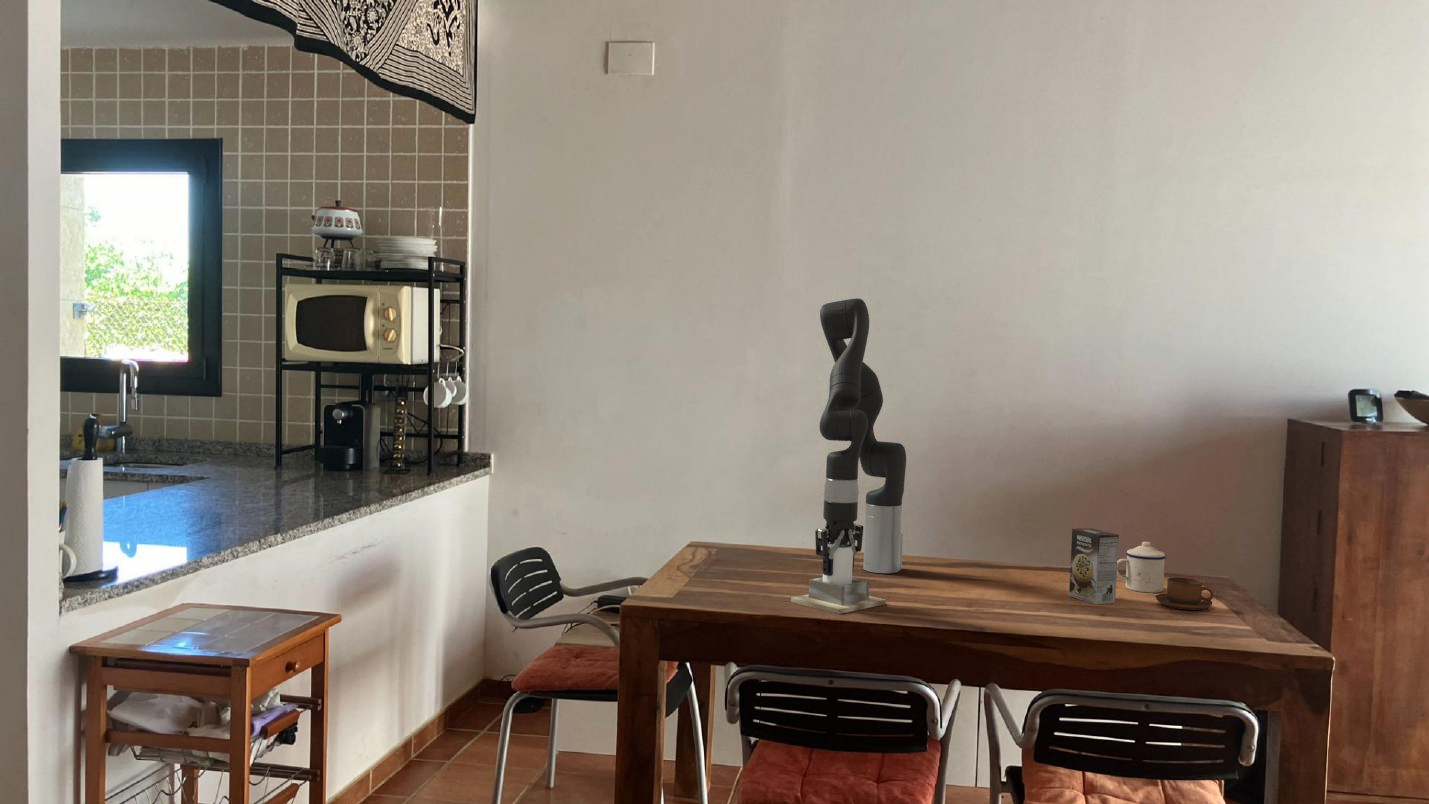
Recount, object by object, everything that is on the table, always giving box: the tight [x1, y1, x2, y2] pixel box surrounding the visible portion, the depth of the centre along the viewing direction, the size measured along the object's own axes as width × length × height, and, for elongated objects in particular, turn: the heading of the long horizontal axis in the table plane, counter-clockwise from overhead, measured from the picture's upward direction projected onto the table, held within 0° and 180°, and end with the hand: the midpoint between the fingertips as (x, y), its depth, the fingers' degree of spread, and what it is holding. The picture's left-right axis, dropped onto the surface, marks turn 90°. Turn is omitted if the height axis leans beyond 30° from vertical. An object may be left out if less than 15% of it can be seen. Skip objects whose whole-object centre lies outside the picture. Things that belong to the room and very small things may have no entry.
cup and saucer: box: [1155, 577, 1215, 611], centre depth 256 cm, size 12×12×6 cm
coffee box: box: [1068, 527, 1120, 605], centre depth 260 cm, size 9×6×16 cm
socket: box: [790, 576, 887, 615], centre depth 249 cm, size 16×14×5 cm
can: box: [822, 542, 854, 586], centre depth 249 cm, size 6×6×12 cm
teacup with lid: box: [1117, 541, 1167, 594], centre depth 274 cm, size 12×9×12 cm
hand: (838, 573), depth 249 cm, fingers closed on can, 6 cm apart
